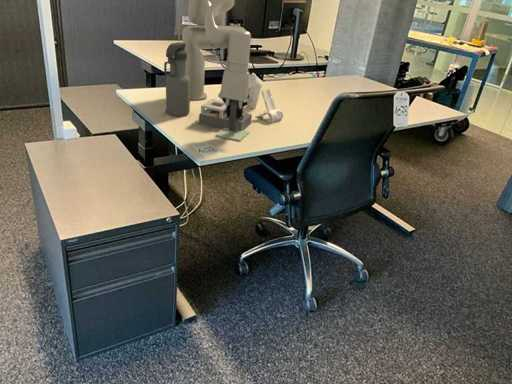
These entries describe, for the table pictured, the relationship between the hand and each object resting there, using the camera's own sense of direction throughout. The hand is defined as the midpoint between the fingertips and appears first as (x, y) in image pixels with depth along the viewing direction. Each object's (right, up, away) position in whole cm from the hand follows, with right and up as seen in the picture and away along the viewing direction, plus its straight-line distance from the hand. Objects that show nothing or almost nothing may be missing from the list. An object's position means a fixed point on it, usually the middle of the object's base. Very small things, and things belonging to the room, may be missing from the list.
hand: (234, 116), depth 158 cm
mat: (-1, -6, +3) cm, 7 cm away
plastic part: (+14, +3, +25) cm, 29 cm away
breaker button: (-8, +1, +14) cm, 16 cm away
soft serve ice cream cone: (+6, +10, +36) cm, 38 cm away
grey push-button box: (-4, 0, +14) cm, 14 cm away
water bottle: (-25, +5, +20) cm, 32 cm away
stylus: (-1, -5, +2) cm, 5 cm away
